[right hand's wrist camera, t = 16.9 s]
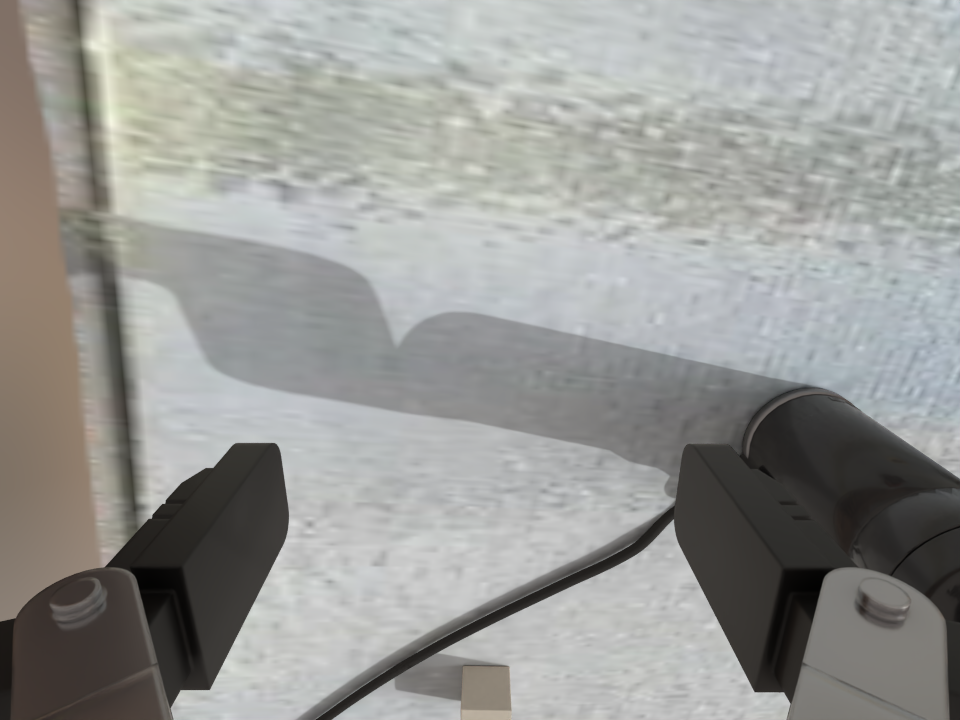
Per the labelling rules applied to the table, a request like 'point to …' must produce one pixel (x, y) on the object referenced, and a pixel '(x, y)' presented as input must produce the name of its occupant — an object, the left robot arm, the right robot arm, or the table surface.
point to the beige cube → (486, 693)
